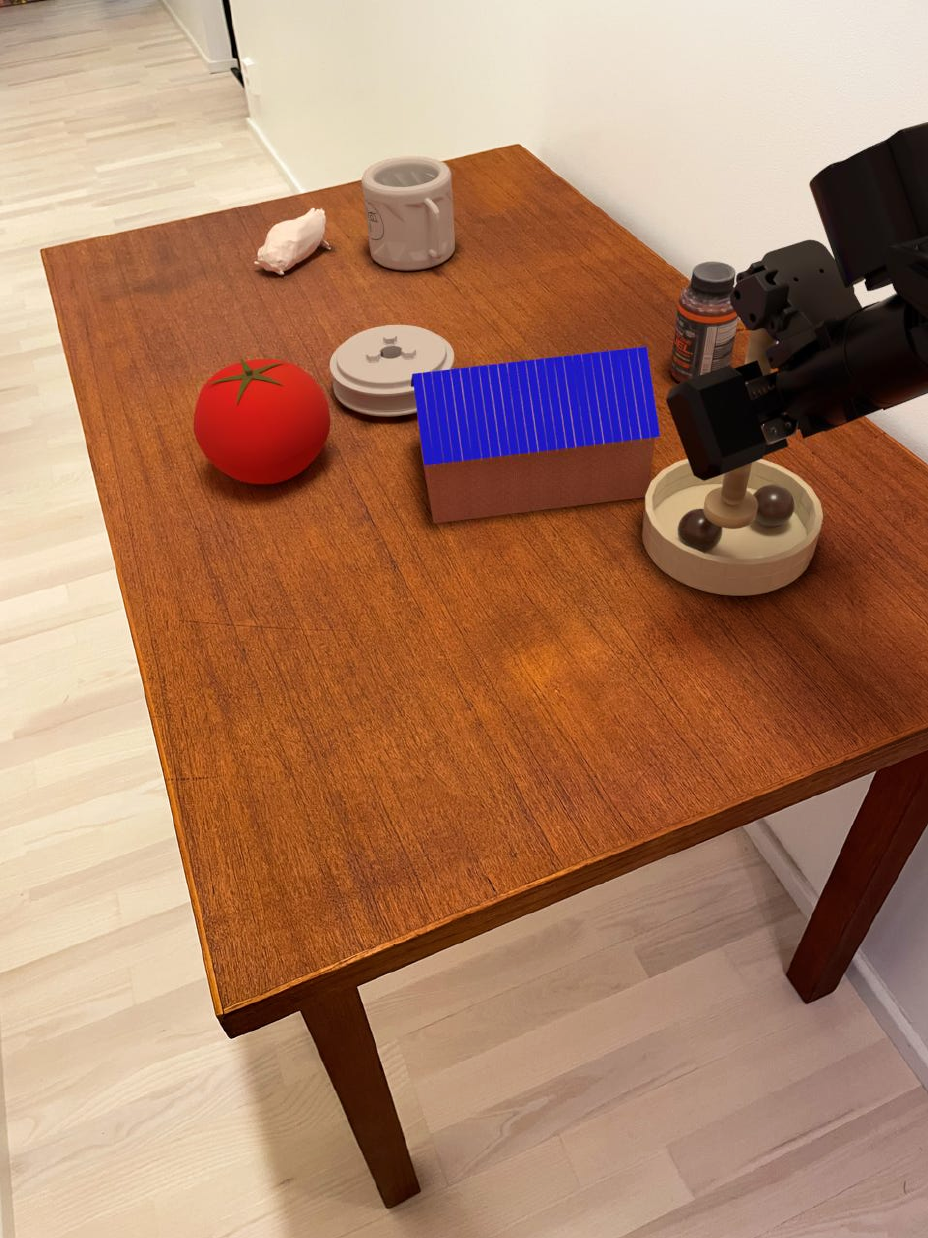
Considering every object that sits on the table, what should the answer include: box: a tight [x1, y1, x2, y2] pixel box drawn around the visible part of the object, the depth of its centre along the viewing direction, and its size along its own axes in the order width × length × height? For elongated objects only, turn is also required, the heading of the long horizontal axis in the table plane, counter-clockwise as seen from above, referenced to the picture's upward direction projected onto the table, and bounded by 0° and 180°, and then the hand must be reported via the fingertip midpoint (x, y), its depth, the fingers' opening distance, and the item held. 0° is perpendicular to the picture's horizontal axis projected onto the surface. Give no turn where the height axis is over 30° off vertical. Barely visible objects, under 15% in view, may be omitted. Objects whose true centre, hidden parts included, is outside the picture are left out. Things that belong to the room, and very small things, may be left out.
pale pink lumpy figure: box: [253, 207, 332, 276], centre depth 119 cm, size 5×7×10 cm
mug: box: [361, 155, 456, 272], centre depth 117 cm, size 14×11×10 cm
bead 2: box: [753, 485, 794, 528], centre depth 80 cm, size 4×4×4 cm
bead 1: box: [677, 509, 723, 552], centre depth 78 cm, size 4×4×4 cm
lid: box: [329, 324, 455, 417], centre depth 98 cm, size 13×13×5 cm
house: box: [411, 346, 661, 524], centre depth 85 cm, size 12×20×12 cm, turn 98°
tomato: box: [193, 357, 331, 485], centre depth 88 cm, size 11×12×10 cm
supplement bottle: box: [669, 261, 739, 384], centre depth 95 cm, size 6×6×11 cm
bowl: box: [641, 458, 824, 597], centre depth 80 cm, size 14×14×4 cm
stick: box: [703, 328, 778, 529], centre depth 69 cm, size 4×4×16 cm
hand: (733, 421), depth 70 cm, fingers closed on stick, 2 cm apart
